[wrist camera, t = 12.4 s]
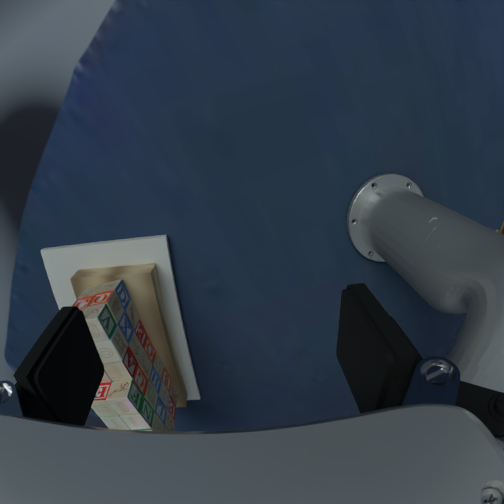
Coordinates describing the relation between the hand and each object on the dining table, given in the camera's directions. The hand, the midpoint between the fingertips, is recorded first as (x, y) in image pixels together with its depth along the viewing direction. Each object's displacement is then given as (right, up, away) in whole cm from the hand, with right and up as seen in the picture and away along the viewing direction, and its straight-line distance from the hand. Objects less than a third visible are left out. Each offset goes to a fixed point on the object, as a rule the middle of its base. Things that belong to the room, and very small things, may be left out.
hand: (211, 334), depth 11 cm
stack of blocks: (-16, -11, +32) cm, 37 cm away
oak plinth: (-16, -11, +35) cm, 40 cm away
